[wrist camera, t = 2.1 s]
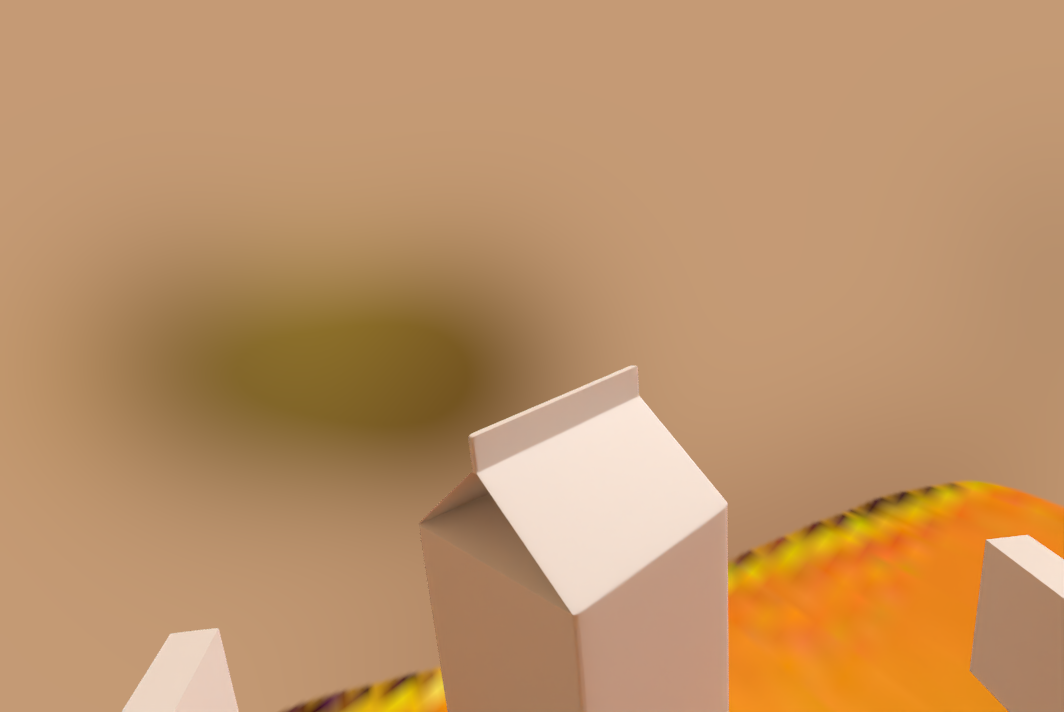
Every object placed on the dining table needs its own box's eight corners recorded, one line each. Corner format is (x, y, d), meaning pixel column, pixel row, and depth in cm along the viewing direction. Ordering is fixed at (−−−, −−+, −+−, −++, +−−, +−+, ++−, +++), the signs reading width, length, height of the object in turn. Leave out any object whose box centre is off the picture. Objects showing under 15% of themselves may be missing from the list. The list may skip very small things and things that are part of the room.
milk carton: (732, 854, 27) (728, 385, 21) (608, 1015, 22) (562, 473, 17) (593, 749, 32) (560, 349, 26) (469, 862, 27) (398, 408, 22)
